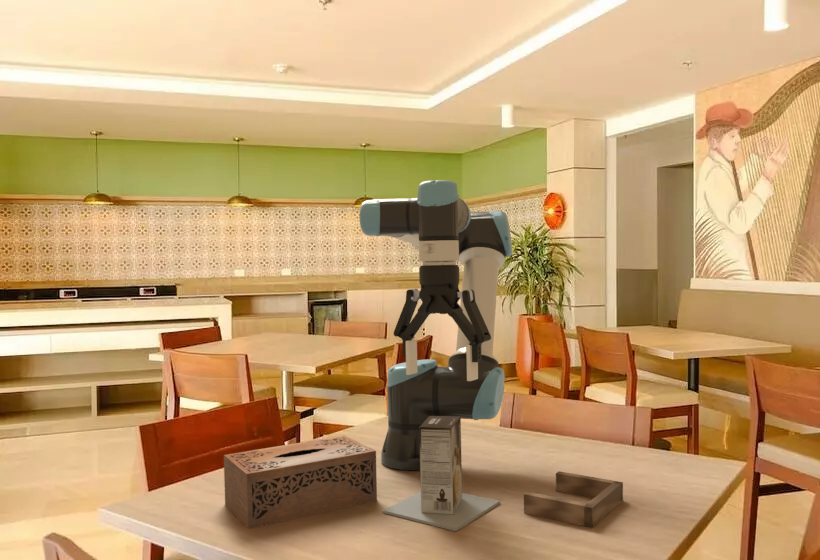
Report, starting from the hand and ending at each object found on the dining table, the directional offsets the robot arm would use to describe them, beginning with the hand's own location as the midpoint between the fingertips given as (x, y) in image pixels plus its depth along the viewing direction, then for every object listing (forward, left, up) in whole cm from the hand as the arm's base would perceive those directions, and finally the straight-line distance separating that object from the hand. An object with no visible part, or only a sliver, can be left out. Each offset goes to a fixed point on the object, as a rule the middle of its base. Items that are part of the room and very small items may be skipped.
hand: (441, 376), depth 129 cm
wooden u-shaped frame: (+20, +13, -25) cm, 35 cm away
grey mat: (0, -1, -25) cm, 25 cm away
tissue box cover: (-25, -13, -25) cm, 38 cm away
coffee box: (0, -1, -24) cm, 24 cm away
